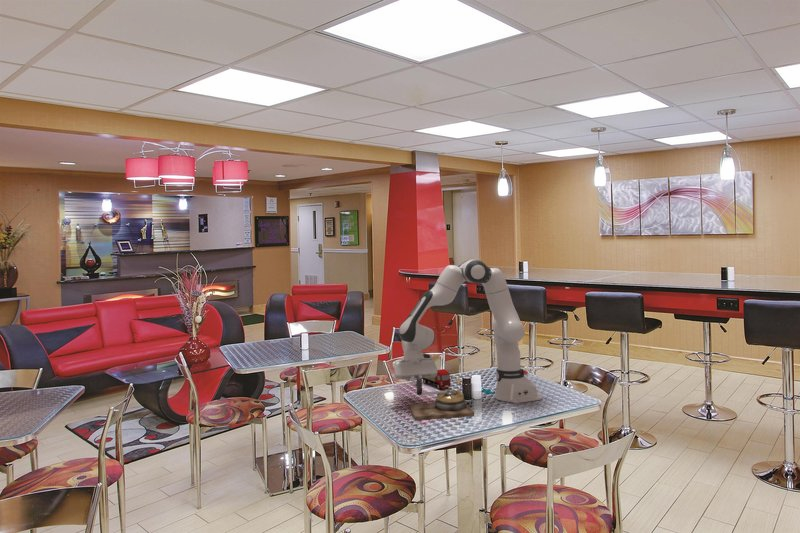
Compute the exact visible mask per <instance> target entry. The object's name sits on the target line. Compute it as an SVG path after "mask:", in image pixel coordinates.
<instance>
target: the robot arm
mask: <svg viewBox="0 0 800 533" xmlns="http://www.w3.org/2000/svg"><path fill="white" fill-rule="evenodd" d="M466 282H468V283H471V284H472V283H473V284H481V285H482V286H483V288H484V293H485V296H486V299H487V300H486V301H487V303H488V307H489V309H490V311H491V314H492V315H493V318H494V321H492V330H493V336H494V344H495V349H496V363H497V364H496V367H497V368H496V372H495V374H496V375H495V376H496V377H495V378H496V390H495V392H494V393H495V394H494V399H496V400H498V401H503V402H508V403H512V404H519V403H526V402H532V401H533V402H534V401H542V400H543V395H542V394H541V393H539V392H538V389H537V386H536V384H535V383H534V382H533V381H531V380H530V379H529V378H527V377H526V376H528V374H529V372H528V371H527V370H526V369H523V368H521V367H522V366H521V351H520V348H519V344H518V342H520V341H521V340H523V338H524V337H525V333H526V332H525V328H524V326H523V324H522V322H521V320H520V317H519V316H520V315H519V313H518V312H517V310H516V308H515V305H514V303H513V300H512V296H511V293H510V290H509V286H508V283H507V280H506V278H505V275H504V274H503V272H502V270H501V269H499V268H498V267H491V268H490V267H489V266H488V265H487V264H486V263H484V262H483V261H481V260H478V259H474V258H473V259H467V260H465V261H464V262H462V263H461V264H459V265H458V266H457V265H454V264H449V265H447V266H445V268H444V269H443V270H442V272H441V273H440V275H439V277H438V278H437V280H436V283H434V286H433V287H432V288H431V289H430V290H427V291H425V292H424V293H423V294H422V295H421V296H420V299H419V300H418V301H417V303H416V304H415V306H414V307H413V309H412V310H411V312H410V313H409V315H408V316H407V317H406V319H405V320H403V322H401V324H400V326H399V327H398V328H399V329H398V334H399V337H400V339H401V347H402V350H403V359H401V360H395V361H393V362H392V363H391V364H392V365H391V366H392V369H393V376H394V379H395V380H409V379H410V381H411V383H413V386H414V387H417V380H416V379H417V378H429V377H436V376H437V370H438V368H437V365H436V362H435V360H433V355H432V354H429V353H424V352H422V351H424V350H426V349H428V348H429V347H431V346H432V345H434V342H435V339H436V334H435V330H433V329H432V328H430V327H428V326H426V325H422V324H420V323H419V322H420V321H421V319H422V318H423V316H424V315H425V313H426V312H427V310H428V309H429V308H431V307H435V306H436V307H438V306H447V305H449V304H451V303H452V302H453V301H454V300H455V298H456V296H457V294H458V291H459V289H460V287H461V286H462V284H464V283H466Z"/></svg>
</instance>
